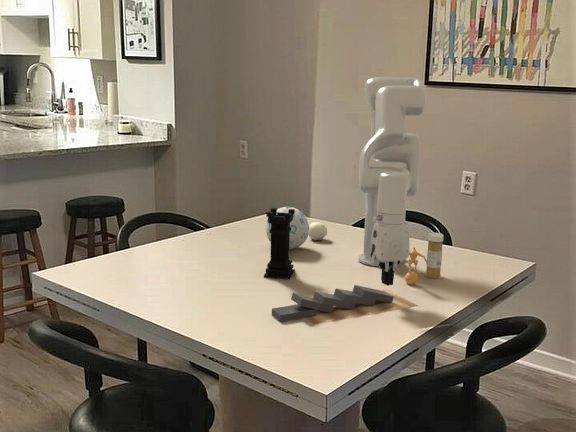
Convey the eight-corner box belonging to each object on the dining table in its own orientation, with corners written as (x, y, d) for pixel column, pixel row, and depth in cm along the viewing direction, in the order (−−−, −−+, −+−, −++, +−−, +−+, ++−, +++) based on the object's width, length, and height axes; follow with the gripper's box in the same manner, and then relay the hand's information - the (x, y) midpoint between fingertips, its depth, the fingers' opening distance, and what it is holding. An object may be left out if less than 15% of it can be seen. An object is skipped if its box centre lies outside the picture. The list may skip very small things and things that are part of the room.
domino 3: (345, 297, 175) (315, 291, 170) (355, 303, 170) (324, 297, 165) (344, 303, 175) (313, 297, 170) (353, 309, 170) (322, 303, 166)
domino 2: (324, 300, 172) (293, 292, 167) (333, 306, 167) (302, 298, 162) (322, 306, 172) (290, 299, 167) (331, 313, 168) (299, 305, 163)
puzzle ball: (258, 251, 224) (258, 209, 221) (276, 241, 237) (276, 201, 234) (299, 257, 218) (300, 213, 215) (314, 246, 232) (316, 205, 228)
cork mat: (388, 291, 186) (388, 289, 186) (418, 307, 174) (418, 305, 174) (288, 306, 172) (288, 305, 172) (313, 325, 160) (313, 324, 160)
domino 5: (383, 291, 180) (354, 284, 175) (393, 296, 176) (364, 290, 171) (381, 297, 180) (352, 291, 175) (391, 303, 176) (362, 296, 171)
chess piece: (289, 279, 195) (291, 214, 190) (263, 277, 196) (264, 212, 192) (294, 271, 203) (296, 209, 198) (269, 269, 204) (270, 207, 200)
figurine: (425, 283, 193) (428, 244, 191) (426, 290, 188) (428, 250, 185) (397, 281, 195) (399, 243, 192) (396, 288, 189) (399, 248, 186)
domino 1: (306, 303, 169) (271, 308, 165) (315, 309, 165) (280, 315, 161) (306, 309, 170) (271, 315, 165) (315, 316, 165) (280, 322, 161)
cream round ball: (323, 243, 236) (323, 225, 235) (304, 240, 239) (305, 223, 238) (330, 239, 242) (330, 221, 241) (312, 236, 245) (312, 219, 244)
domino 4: (365, 293, 177) (335, 288, 173) (375, 299, 173) (345, 294, 168) (363, 300, 178) (333, 294, 173) (373, 306, 173) (343, 300, 168)
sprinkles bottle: (435, 273, 204) (438, 231, 201) (443, 277, 200) (446, 235, 197) (422, 274, 202) (425, 232, 199) (430, 279, 198) (433, 236, 195)
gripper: (375, 223, 166) (371, 291, 170) (422, 218, 173) (417, 284, 177) (359, 217, 173) (356, 283, 177) (405, 213, 179) (401, 276, 183)
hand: (387, 283), depth 177 cm, fingers closed
